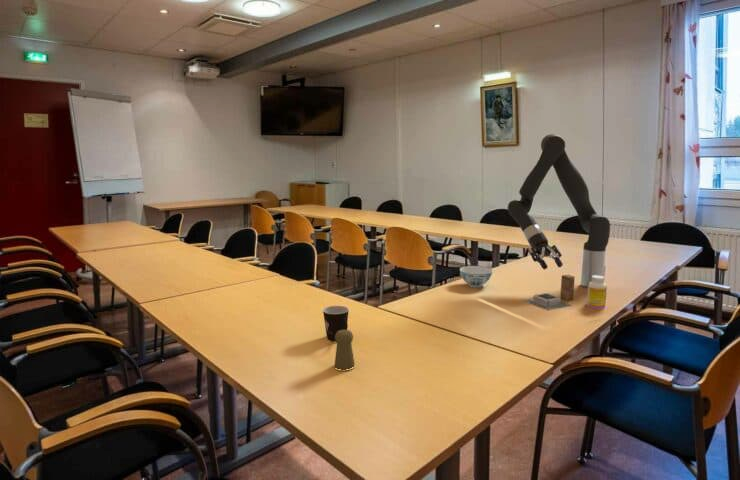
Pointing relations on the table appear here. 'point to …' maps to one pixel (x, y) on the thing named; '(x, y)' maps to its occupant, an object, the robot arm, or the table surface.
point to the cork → (344, 350)
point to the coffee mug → (335, 320)
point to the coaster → (549, 307)
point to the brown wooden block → (567, 287)
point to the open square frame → (547, 300)
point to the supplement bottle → (597, 292)
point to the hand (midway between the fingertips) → (553, 267)
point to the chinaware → (475, 275)
